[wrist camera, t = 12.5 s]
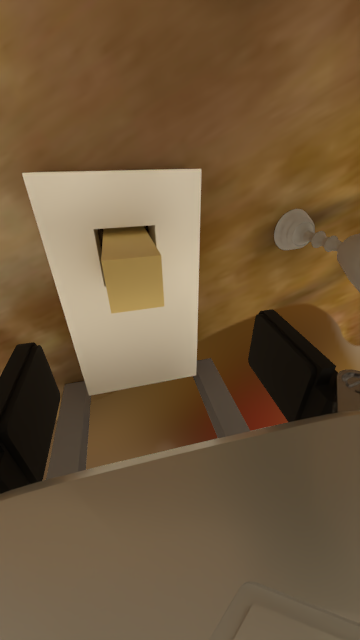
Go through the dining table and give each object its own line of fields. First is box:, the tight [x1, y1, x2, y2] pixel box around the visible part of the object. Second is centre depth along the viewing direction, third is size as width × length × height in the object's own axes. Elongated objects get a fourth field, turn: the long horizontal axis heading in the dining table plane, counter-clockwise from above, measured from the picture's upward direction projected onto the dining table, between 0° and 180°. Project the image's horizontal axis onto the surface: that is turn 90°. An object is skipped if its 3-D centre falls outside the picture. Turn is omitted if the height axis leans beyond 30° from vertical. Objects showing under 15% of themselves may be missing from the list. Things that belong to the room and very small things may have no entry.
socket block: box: [22, 169, 201, 396], centre depth 28 cm, size 24×14×5 cm, turn 1°
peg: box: [101, 226, 164, 314], centre depth 23 cm, size 4×4×12 cm
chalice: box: [274, 209, 360, 292], centre depth 24 cm, size 7×7×18 cm
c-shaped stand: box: [46, 358, 250, 480], centre depth 23 cm, size 13×22×32 cm, turn 91°
